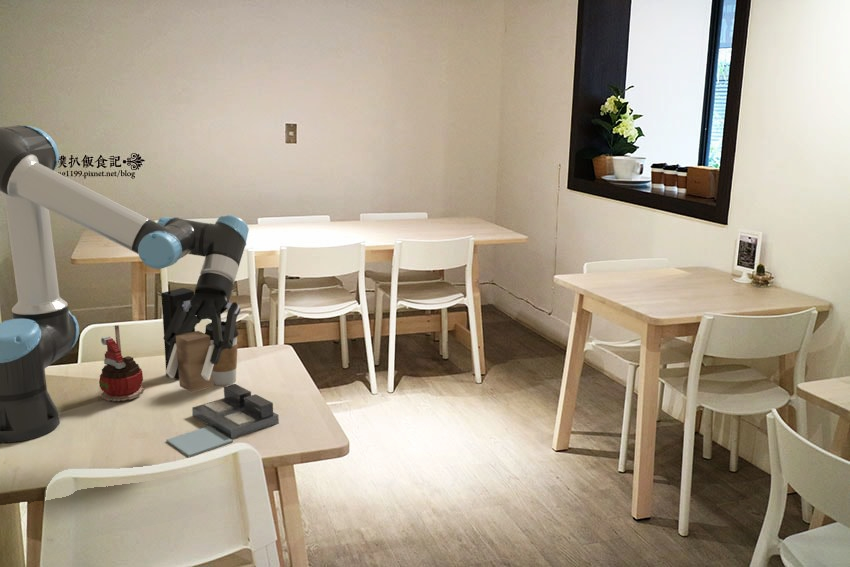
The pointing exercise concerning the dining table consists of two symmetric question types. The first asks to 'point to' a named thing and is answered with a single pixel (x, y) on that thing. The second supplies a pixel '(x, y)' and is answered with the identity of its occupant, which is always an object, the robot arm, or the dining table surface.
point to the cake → (119, 372)
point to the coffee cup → (224, 359)
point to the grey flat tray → (237, 412)
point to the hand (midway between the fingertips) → (187, 376)
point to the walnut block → (193, 360)
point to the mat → (199, 441)
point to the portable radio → (173, 312)
